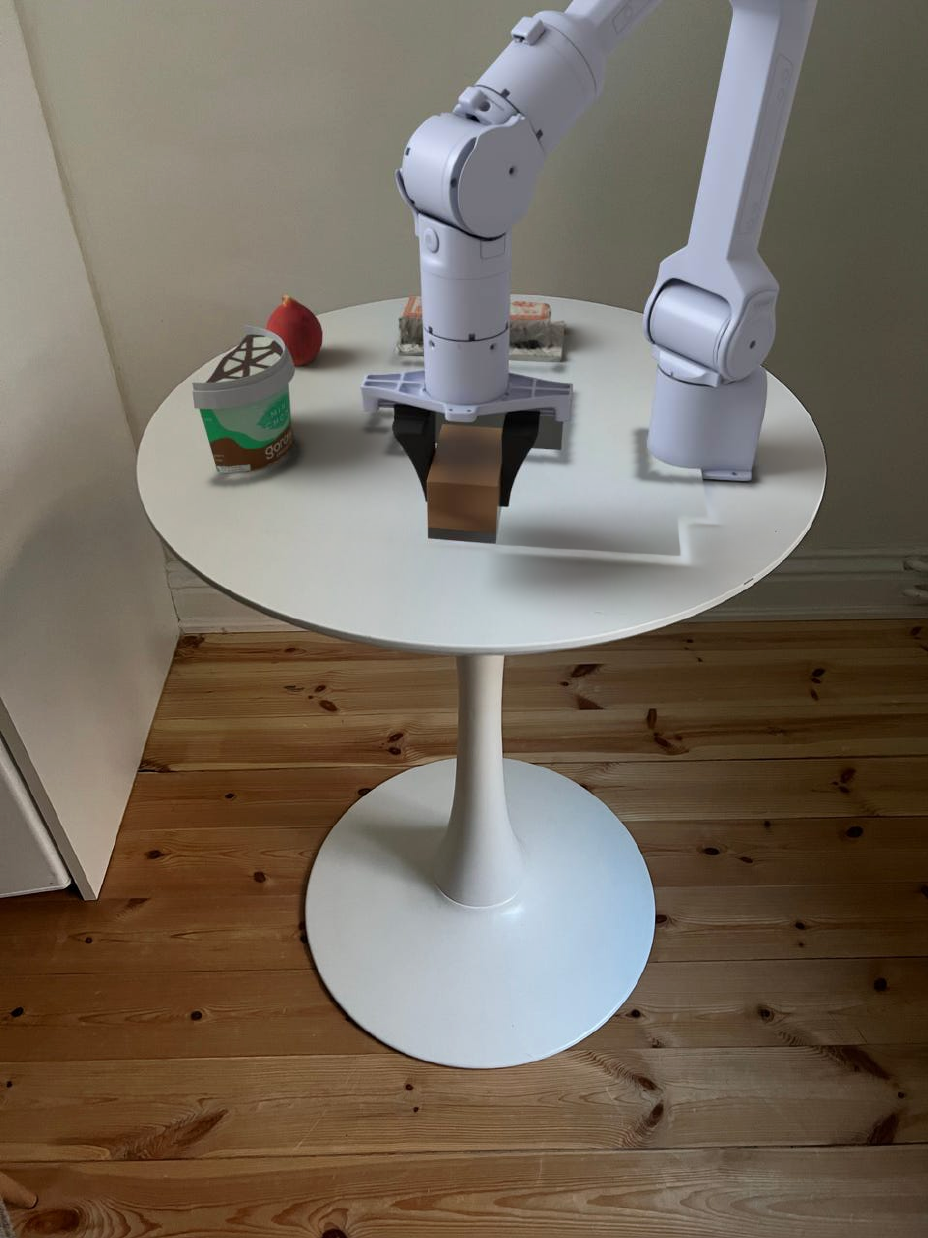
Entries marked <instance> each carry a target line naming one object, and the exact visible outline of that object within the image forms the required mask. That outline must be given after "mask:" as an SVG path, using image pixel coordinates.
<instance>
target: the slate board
mask: <svg viewBox="0 0 928 1238" xmlns="http://www.w3.org/2000/svg"><path fill="white" fill-rule="evenodd" d="M504 418H505V414H498V413H496V414H488V415H480V416H477V418H476V420H475V421H473V422H453V421H448V420H446V419H445V414H444V413H440V412H436V432H435V444H437V443H438V439H439V435H440V432H441V428H442V425H443V424H449V425H463V426H477V427H491V428H503V423H504ZM563 426H564V422H563V421H556V420H555V416H540V424H539V432H538V437H537V439H536V441H535V443H534V445H533V447H532V448H531V449H535V450H537V449H539V450H555V451H560V450H562V438H563ZM395 441H396V442H398V441H397V440H396V439H395Z"/></svg>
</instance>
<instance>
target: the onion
mask: <svg viewBox="0 0 928 1238" xmlns="http://www.w3.org/2000/svg"><path fill="white" fill-rule="evenodd" d="M281 300H282V301H281V302H282V304H280V305H278V306H277V307H276V308H274V311H273V312H272V313H271V314H270V316H269V318H268V320H267V323H266V327H265V330H268V331H270V332H273V333H275V334H276V335H278V336H279V337H280V338H281V339H282V340H283V342H284V344H285V345H286V346H287V348H288V350H289V353H290V355H291V358H292V360H293V363H294V367H303V366H306V365H307V364H308V365H309V364H310V363H311V362H312V361H313V360H314V359H315V358H316V357H317V356H318V354H319V353H320V351H321V348H322V346H323V332H324V331H323V328H322V325H321V322H320V321H319V319H318V317H317V315H316V314H315V313H314V312H313V311H312V310H311V309H309V308H308V307H307V306H305V305H304V304H303V303H301V302H299V301H298V300H297V299H294V298H293V297H292V296H291V295H289V294H284V295H282V296H281Z"/></svg>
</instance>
